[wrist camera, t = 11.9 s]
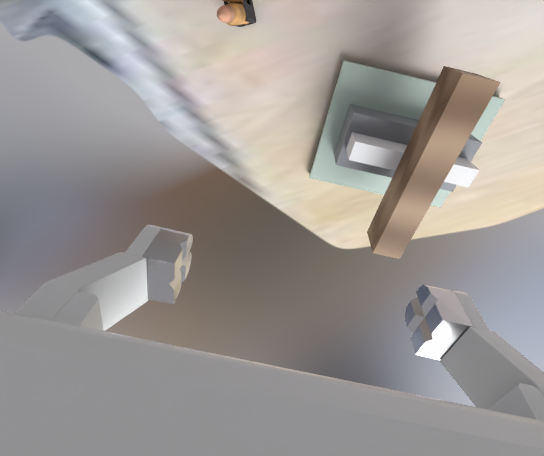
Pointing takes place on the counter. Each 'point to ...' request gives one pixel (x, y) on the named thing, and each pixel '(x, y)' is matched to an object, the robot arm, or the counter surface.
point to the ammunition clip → (237, 13)
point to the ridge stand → (383, 130)
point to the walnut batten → (429, 157)
